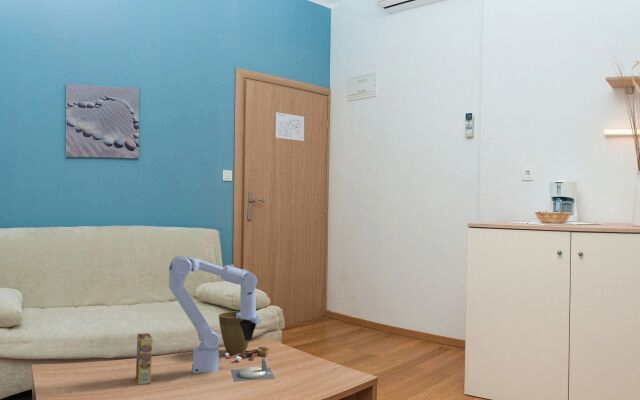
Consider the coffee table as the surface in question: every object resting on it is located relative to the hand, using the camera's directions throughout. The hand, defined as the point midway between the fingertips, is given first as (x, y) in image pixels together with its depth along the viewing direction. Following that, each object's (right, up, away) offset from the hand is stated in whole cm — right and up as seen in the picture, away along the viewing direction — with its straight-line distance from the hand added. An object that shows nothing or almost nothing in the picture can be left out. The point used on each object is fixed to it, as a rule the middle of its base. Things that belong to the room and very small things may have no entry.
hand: (248, 340), depth 189 cm
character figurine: (-1, -11, +12) cm, 16 cm away
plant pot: (-8, -11, +20) cm, 24 cm away
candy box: (-34, -10, -15) cm, 39 cm away
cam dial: (+3, -9, -11) cm, 15 cm away
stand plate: (+3, -10, -10) cm, 15 cm away
